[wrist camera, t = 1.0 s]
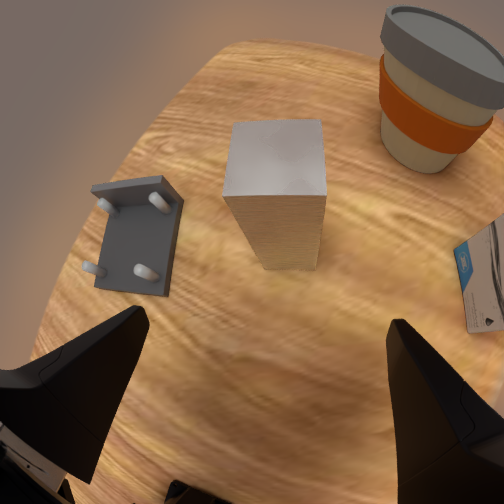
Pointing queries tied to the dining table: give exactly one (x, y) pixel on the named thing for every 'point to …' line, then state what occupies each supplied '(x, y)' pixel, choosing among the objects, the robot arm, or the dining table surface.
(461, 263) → the ink box
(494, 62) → the reusable coffee cup
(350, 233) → the dining table surface
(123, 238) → the drive dock
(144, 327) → the robot arm
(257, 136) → the silver tall square block
